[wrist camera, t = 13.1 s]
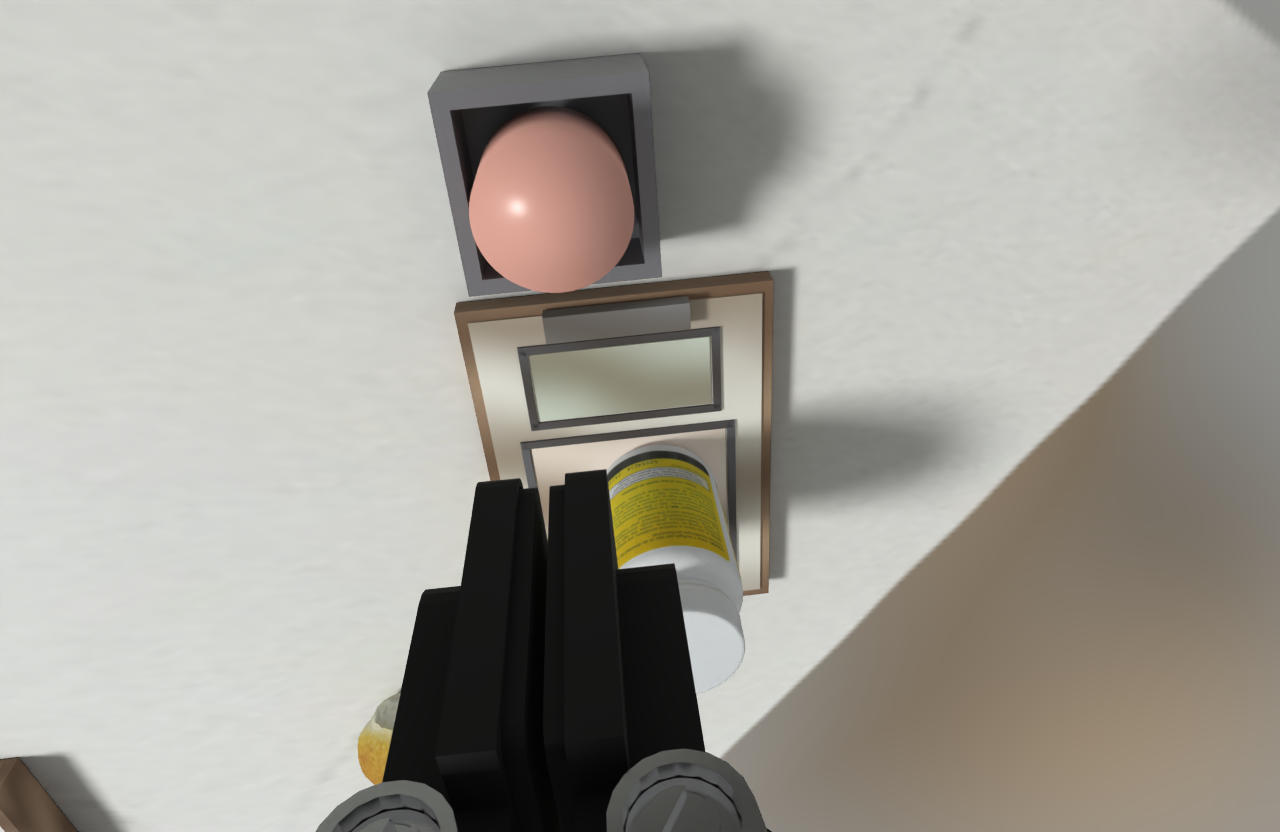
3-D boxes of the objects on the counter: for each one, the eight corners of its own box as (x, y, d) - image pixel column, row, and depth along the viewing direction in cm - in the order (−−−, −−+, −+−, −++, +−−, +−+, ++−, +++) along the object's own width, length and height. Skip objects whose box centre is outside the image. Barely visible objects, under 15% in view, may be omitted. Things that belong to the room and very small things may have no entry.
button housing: (440, 71, 25) (427, 93, 22) (640, 53, 25) (648, 71, 22) (477, 259, 28) (469, 296, 25) (653, 242, 28) (661, 277, 26)
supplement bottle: (574, 472, 32) (579, 639, 25) (684, 421, 31) (720, 578, 24) (630, 552, 34) (649, 723, 27) (734, 506, 33) (780, 672, 26)
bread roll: (415, 806, 44) (399, 882, 40) (344, 695, 39) (319, 770, 36) (566, 779, 43) (562, 853, 39) (511, 662, 38) (501, 734, 35)
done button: (465, 113, 23) (454, 141, 21) (620, 99, 23) (627, 124, 21) (492, 259, 26) (484, 300, 23) (632, 245, 26) (640, 284, 23)
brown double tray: (456, 303, 29) (451, 322, 27) (768, 271, 29) (777, 288, 28) (521, 607, 37) (520, 633, 36) (764, 580, 37) (771, 604, 36)
